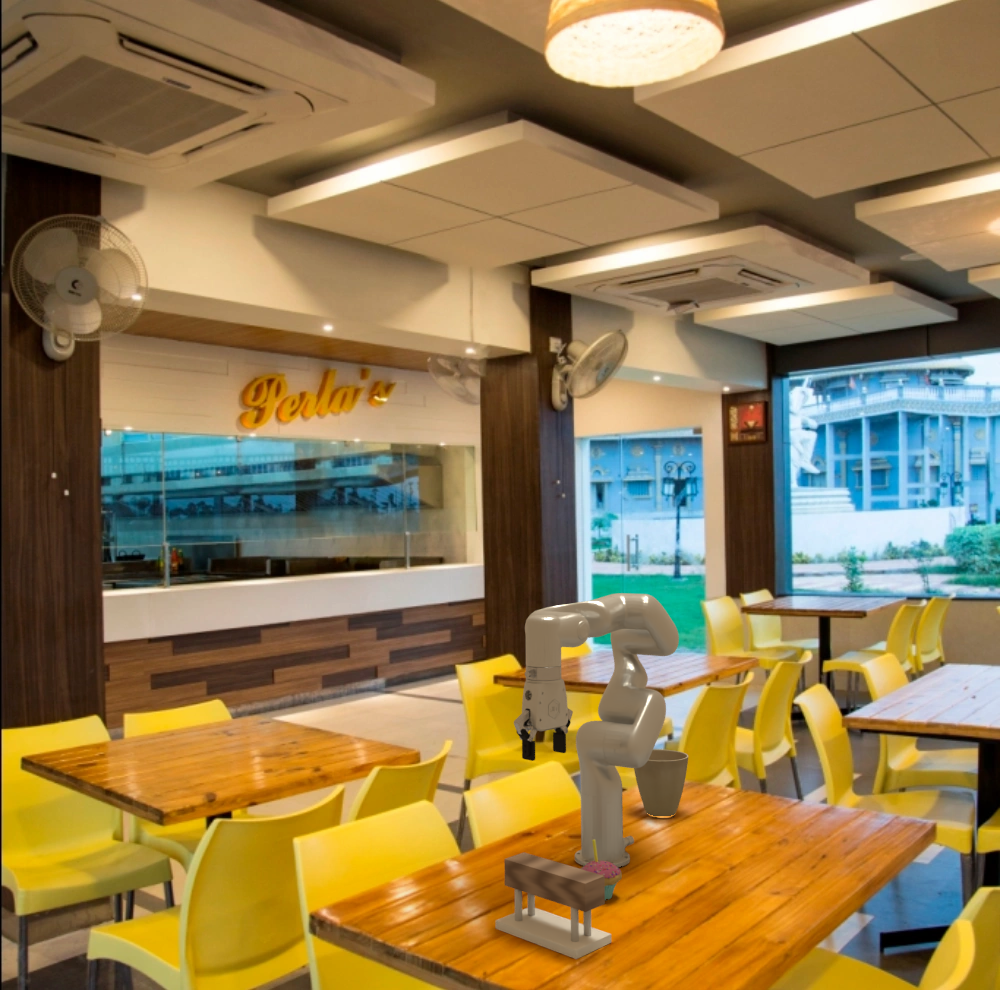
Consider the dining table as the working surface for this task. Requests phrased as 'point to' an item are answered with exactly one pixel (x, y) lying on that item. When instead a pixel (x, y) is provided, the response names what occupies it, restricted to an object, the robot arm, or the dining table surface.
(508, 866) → the wooden block
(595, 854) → the cupcake
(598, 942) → the peg stand
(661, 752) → the plant pot
